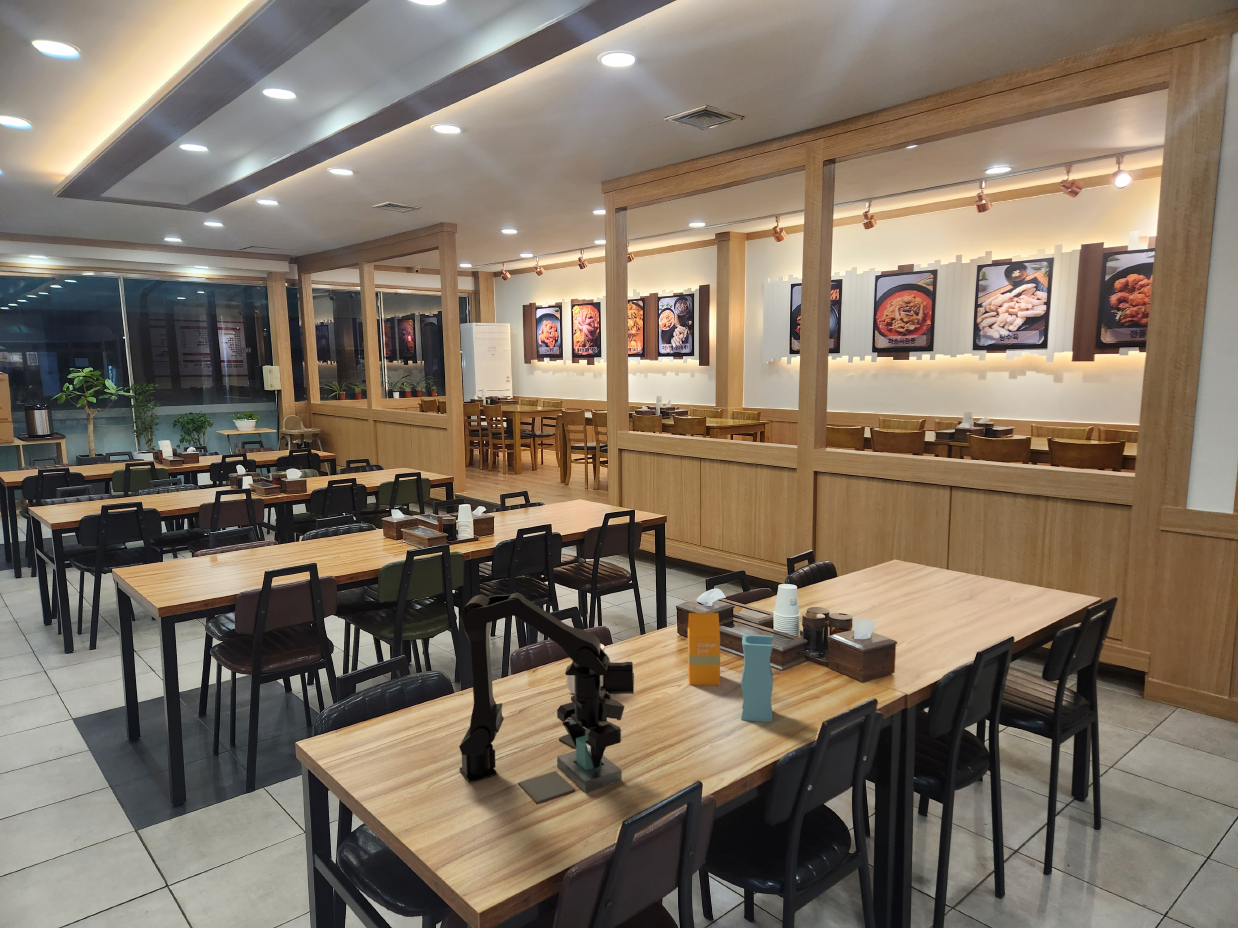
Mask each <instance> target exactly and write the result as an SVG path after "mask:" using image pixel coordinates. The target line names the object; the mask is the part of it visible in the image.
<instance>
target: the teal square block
mask: <svg viewBox="0 0 1238 928" xmlns="http://www.w3.org/2000/svg"><path fill="white" fill-rule="evenodd" d="M585 741H588V735H585V736H582V737H578V738H576V749H575V751H576V764H577V765H578V766H579V767H580V768H581V769H582V770H583V771H587V770H590V769H593V768H594V766H593V763H592V761H591V758H590V755H589V752H588V749H587V746H586V743H585ZM599 766H601V762H600V765H599Z"/></svg>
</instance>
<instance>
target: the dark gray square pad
mask: <svg viewBox="0 0 1238 928" xmlns="http://www.w3.org/2000/svg"><path fill="white" fill-rule="evenodd" d="M517 784H518V786H519V787H520V788H521V789H522V790H523V791H524V792H525V793H526V794H527V796H529V798H531V799H532V801H534V802H535V804H540V803H543V802H545V801H548V800H553V799H554V798H557V797H561V796H563V795H566V794H570V793H572V792H575V791H576V789H575V787H573V786H572V784H570V783H569V782H568V781H567V780H566V779H565V778H564V777H563V776H562V775H560V774H559V773H558V772H557V771H556V770H554V771H550V772H547V773H544V774H541V775H539V776H535V777H532V778H529V779H525V780H521V781H519V782H518V783H517Z"/></svg>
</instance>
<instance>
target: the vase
mask: <svg viewBox="0 0 1238 928" xmlns="http://www.w3.org/2000/svg"><path fill="white" fill-rule="evenodd" d="M773 637H774V636H773V635H763V634H761V635H760V634H743V635H742V639H741V645H742V650H743V657H744V658H743V659H744V660H743V661H744V663H743V668H742V673H741V679H740V680H741V681H740V688H741V691H742V692H741V693H742V698H743V699H742V700H743V701H742V702H743V703H742V706H741V708H742V712H741V718H740V720H741V721H750V722H763V723H769V722H772V721H773V707H772V694H773V690H774V689H773V688H774V683H773V682H774V676H773V675H774V673H773V670H772V666H771V655H772V651H773V648H774V645H773V644H772V643H773Z"/></svg>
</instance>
